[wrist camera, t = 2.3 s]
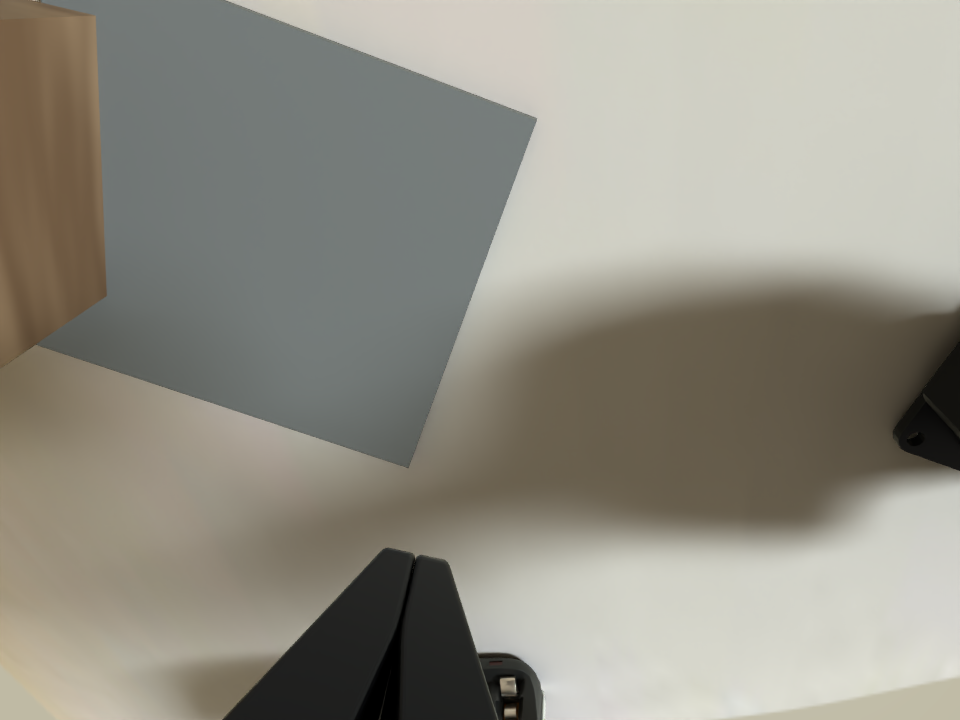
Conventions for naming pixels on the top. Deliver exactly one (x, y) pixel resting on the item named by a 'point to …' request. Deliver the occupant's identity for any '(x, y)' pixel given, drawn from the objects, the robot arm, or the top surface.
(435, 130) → the mat
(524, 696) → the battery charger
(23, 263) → the board
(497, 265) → the top surface
